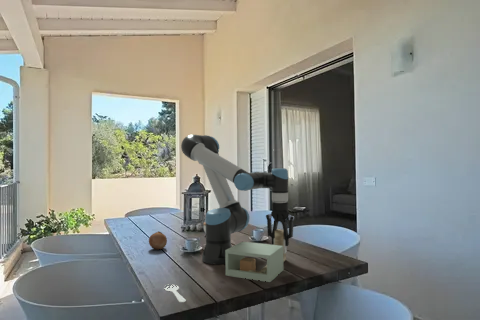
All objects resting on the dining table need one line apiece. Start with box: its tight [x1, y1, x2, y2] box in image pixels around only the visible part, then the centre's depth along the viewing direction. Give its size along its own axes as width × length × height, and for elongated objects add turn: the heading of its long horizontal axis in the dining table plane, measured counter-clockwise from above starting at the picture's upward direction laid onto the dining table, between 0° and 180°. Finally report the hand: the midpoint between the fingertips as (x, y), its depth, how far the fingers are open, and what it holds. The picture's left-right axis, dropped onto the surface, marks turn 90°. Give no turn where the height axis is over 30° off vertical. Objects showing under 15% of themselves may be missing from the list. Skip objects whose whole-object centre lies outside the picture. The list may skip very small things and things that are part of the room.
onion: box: [148, 231, 168, 251], centre depth 180 cm, size 10×9×10 cm
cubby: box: [225, 241, 284, 283], centre depth 141 cm, size 19×16×10 cm
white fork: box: [163, 283, 187, 303], centre depth 120 cm, size 5×18×1 cm, turn 27°
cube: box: [239, 256, 257, 271], centre depth 143 cm, size 5×5×5 cm
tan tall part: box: [248, 228, 287, 274], centre depth 147 cm, size 7×27×14 cm, turn 155°
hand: (280, 252), depth 157 cm, fingers closed on tan tall part, 4 cm apart
